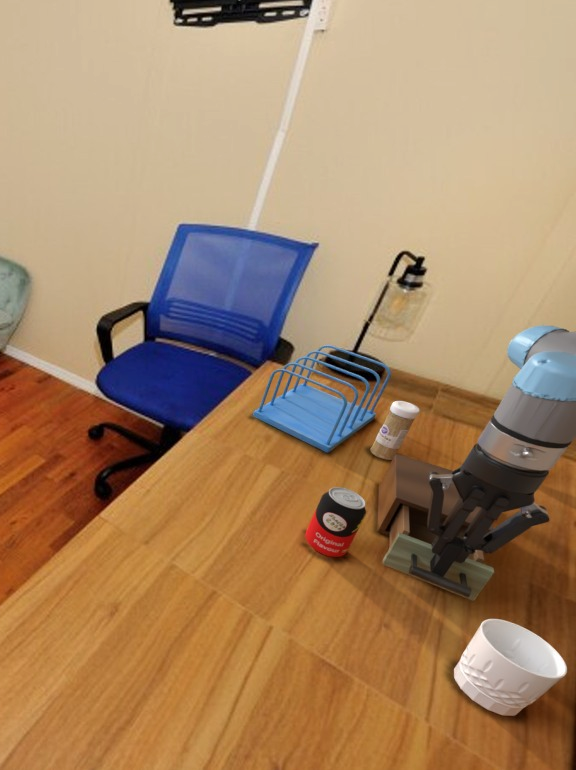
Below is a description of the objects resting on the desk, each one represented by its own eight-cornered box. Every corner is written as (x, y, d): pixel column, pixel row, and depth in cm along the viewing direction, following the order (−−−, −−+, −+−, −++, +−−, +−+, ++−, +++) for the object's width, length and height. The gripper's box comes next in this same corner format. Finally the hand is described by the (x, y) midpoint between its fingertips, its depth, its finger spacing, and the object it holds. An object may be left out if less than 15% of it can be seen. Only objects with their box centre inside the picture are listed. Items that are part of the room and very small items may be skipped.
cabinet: (469, 567, 88) (494, 531, 84) (377, 532, 96) (395, 497, 92) (461, 513, 99) (483, 479, 95) (378, 485, 107) (395, 452, 102)
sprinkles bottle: (364, 449, 117) (387, 401, 111) (381, 447, 118) (405, 398, 111) (383, 462, 113) (408, 412, 107) (400, 459, 114) (426, 410, 107)
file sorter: (327, 454, 116) (351, 398, 108) (251, 417, 129) (268, 365, 122) (374, 419, 127) (399, 366, 120) (300, 388, 140) (318, 339, 133)
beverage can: (296, 532, 96) (316, 484, 90) (329, 532, 96) (353, 484, 90) (317, 559, 90) (340, 510, 85) (353, 560, 90) (379, 511, 85)
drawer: (476, 622, 79) (498, 593, 75) (382, 582, 85) (398, 554, 82) (464, 544, 92) (483, 516, 89) (383, 514, 98) (397, 487, 95)
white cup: (507, 732, 66) (549, 689, 62) (435, 675, 73) (468, 632, 68) (537, 705, 69) (579, 662, 64) (465, 653, 75) (498, 610, 71)
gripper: (451, 450, 72) (385, 563, 83) (588, 491, 65) (495, 609, 76) (448, 426, 77) (385, 535, 88) (574, 461, 70) (489, 575, 81)
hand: (436, 569), depth 82 cm, fingers closed
